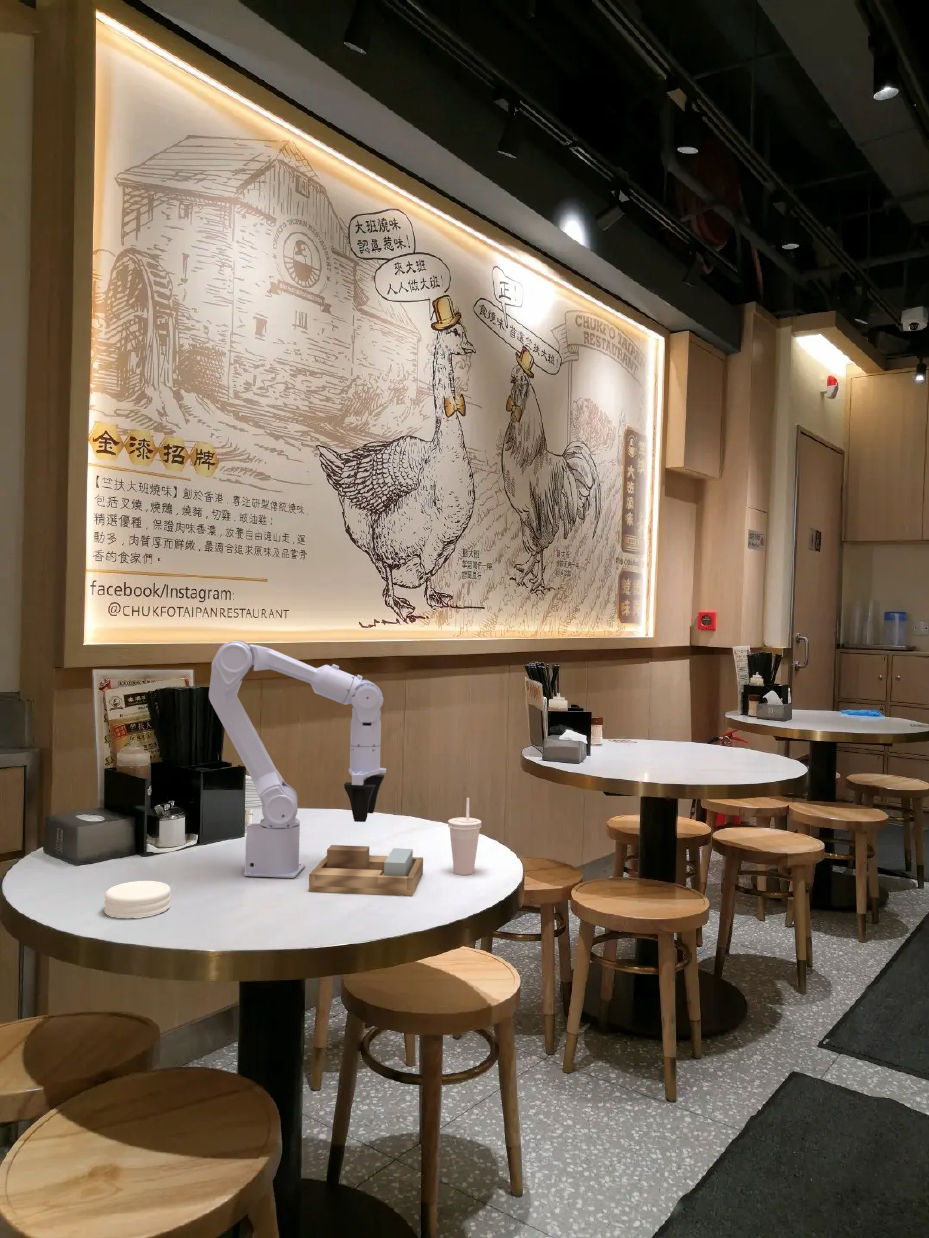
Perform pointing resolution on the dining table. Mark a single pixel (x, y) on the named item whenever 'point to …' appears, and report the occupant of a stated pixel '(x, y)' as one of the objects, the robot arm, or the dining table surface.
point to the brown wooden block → (348, 857)
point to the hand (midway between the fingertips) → (364, 817)
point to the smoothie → (464, 842)
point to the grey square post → (398, 862)
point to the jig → (365, 879)
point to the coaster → (137, 899)
